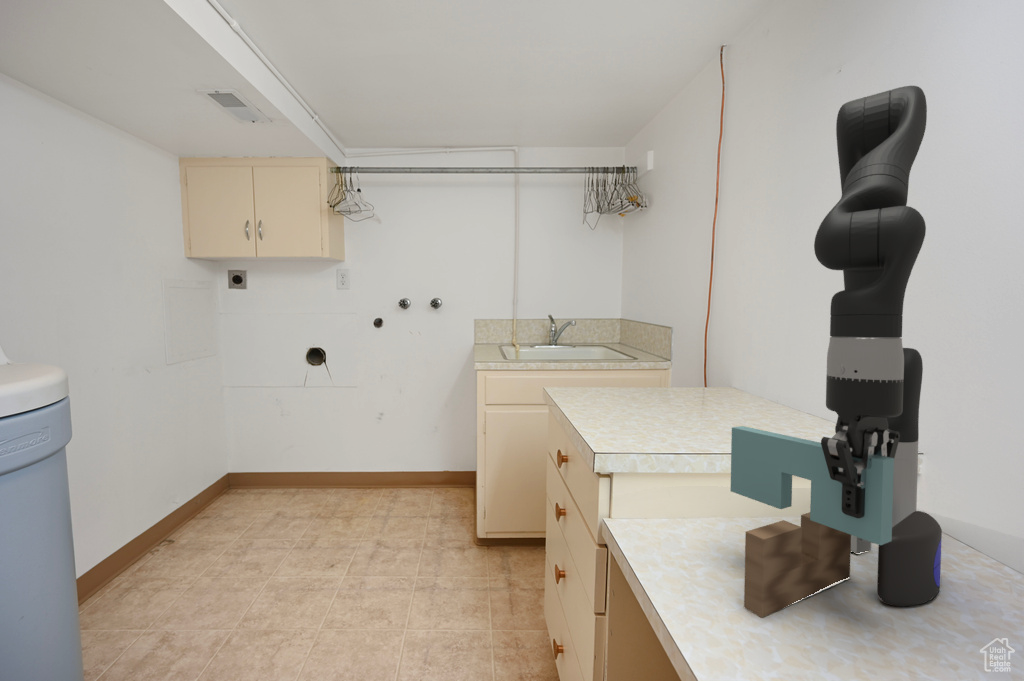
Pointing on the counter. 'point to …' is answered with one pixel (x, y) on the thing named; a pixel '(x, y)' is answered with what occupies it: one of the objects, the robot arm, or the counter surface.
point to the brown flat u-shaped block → (792, 563)
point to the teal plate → (775, 458)
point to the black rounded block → (910, 561)
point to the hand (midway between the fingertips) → (859, 512)
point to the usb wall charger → (859, 544)
